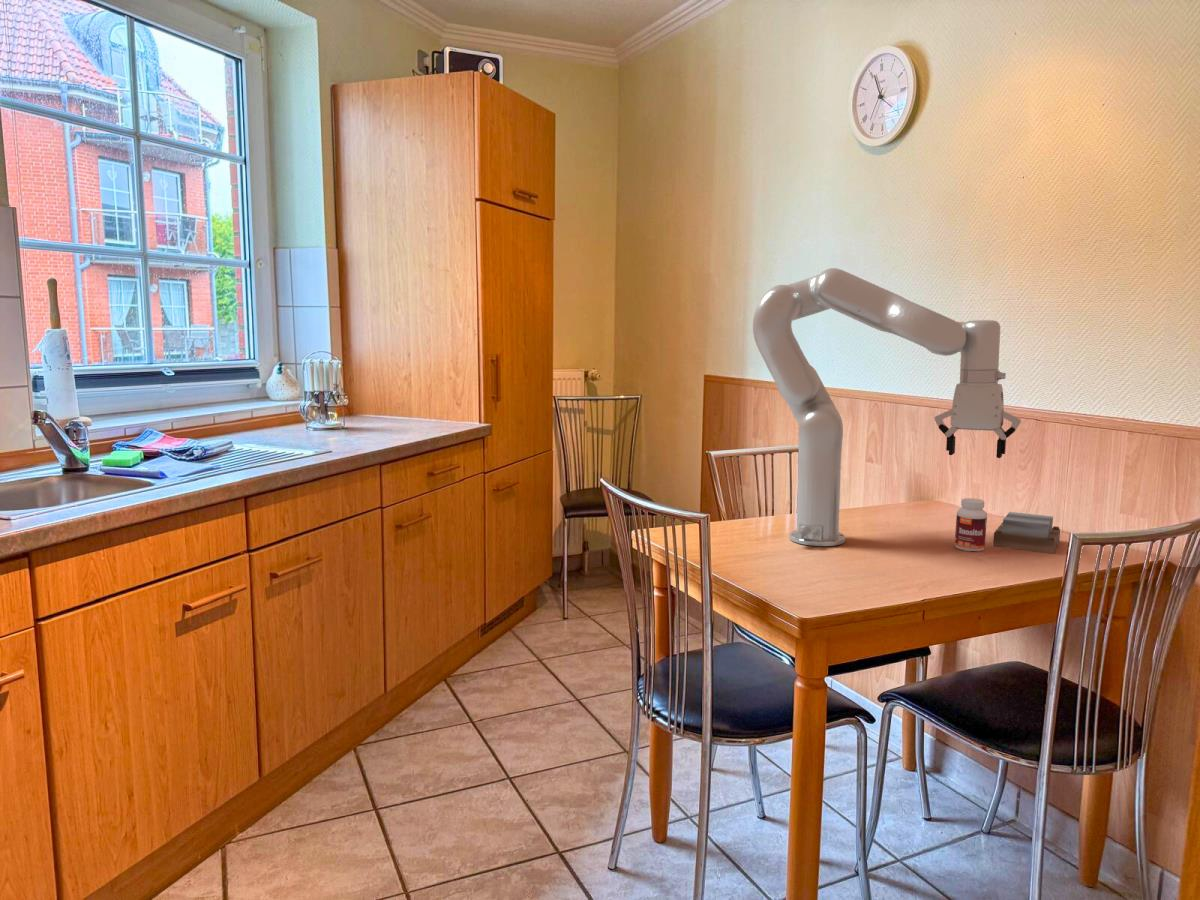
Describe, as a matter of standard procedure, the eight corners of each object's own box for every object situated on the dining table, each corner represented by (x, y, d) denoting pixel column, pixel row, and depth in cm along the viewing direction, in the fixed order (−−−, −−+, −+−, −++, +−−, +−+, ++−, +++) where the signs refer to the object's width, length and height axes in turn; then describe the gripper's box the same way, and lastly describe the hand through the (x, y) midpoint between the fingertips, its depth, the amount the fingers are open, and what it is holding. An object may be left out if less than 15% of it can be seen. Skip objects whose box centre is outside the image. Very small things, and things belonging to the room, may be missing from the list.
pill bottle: (954, 550, 180) (957, 502, 179) (953, 543, 186) (956, 496, 184) (985, 553, 178) (988, 504, 176) (984, 546, 184) (987, 498, 182)
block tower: (1053, 553, 177) (1055, 526, 176) (993, 545, 184) (994, 519, 183) (1059, 541, 187) (1061, 516, 186) (1001, 534, 194) (1003, 509, 193)
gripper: (1025, 377, 175) (1021, 456, 178) (939, 376, 185) (937, 451, 187) (1021, 379, 169) (1016, 461, 172) (932, 378, 179) (929, 455, 181)
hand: (975, 455), depth 179 cm, fingers open, 9 cm apart
